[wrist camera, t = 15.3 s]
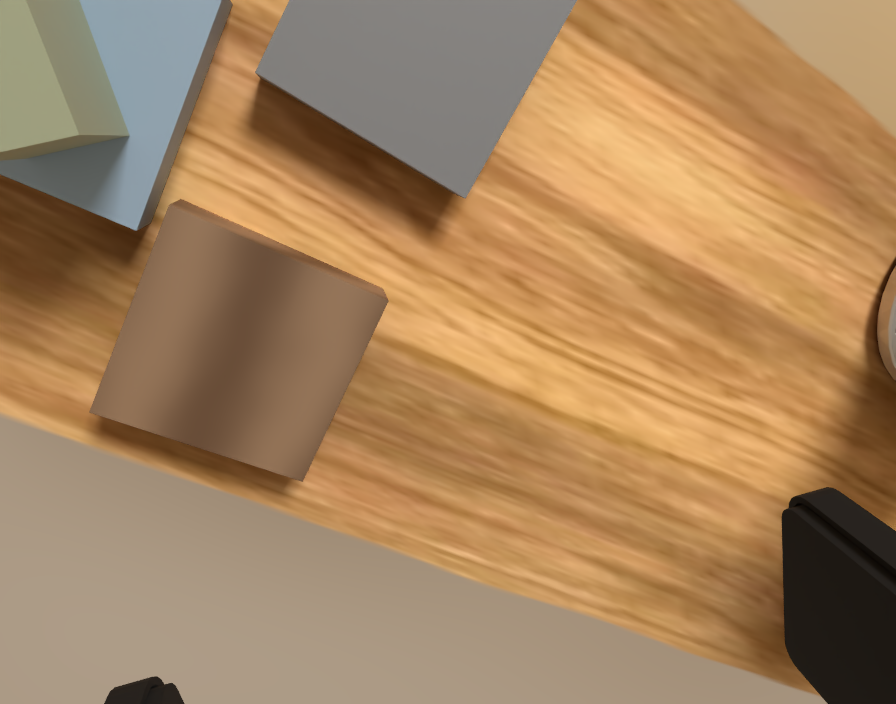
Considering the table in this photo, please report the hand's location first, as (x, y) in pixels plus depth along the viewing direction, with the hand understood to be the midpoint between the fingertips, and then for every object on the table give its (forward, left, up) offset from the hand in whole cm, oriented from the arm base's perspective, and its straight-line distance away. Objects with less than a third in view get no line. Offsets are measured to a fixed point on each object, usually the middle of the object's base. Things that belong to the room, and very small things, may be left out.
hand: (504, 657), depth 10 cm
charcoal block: (-5, -11, -24) cm, 27 cm away
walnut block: (+6, +1, -24) cm, 25 cm away
